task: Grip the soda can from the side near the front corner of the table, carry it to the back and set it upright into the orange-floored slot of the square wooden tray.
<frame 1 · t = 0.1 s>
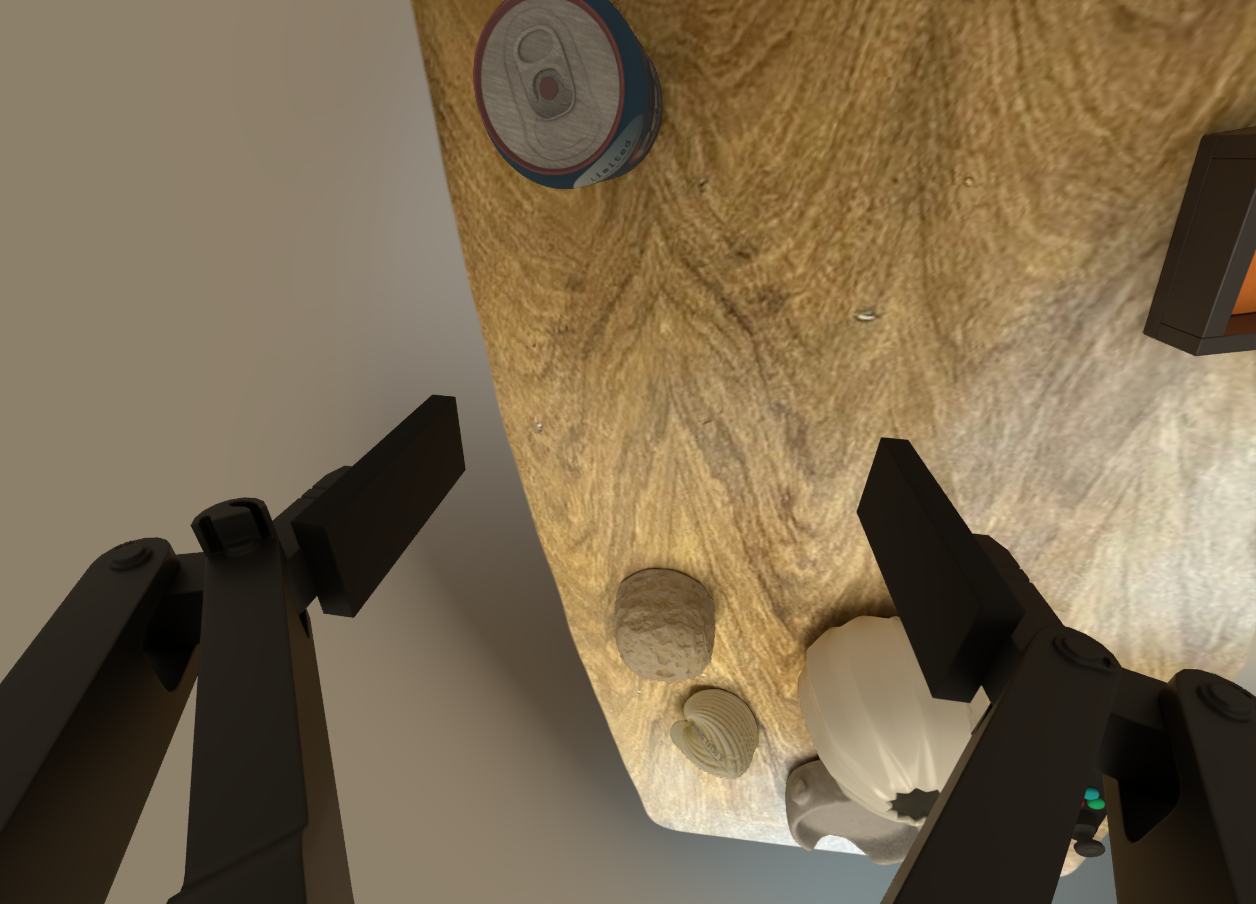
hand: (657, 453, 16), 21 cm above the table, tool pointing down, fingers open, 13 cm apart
seashell: (712, 710, 55), on the table
vase: (870, 648, 48), on the table
dish: (846, 782, 59), on the table
controller: (1032, 708, 49), on the table
soda can: (603, 109, 30), on the table
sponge: (665, 603, 48), on the table
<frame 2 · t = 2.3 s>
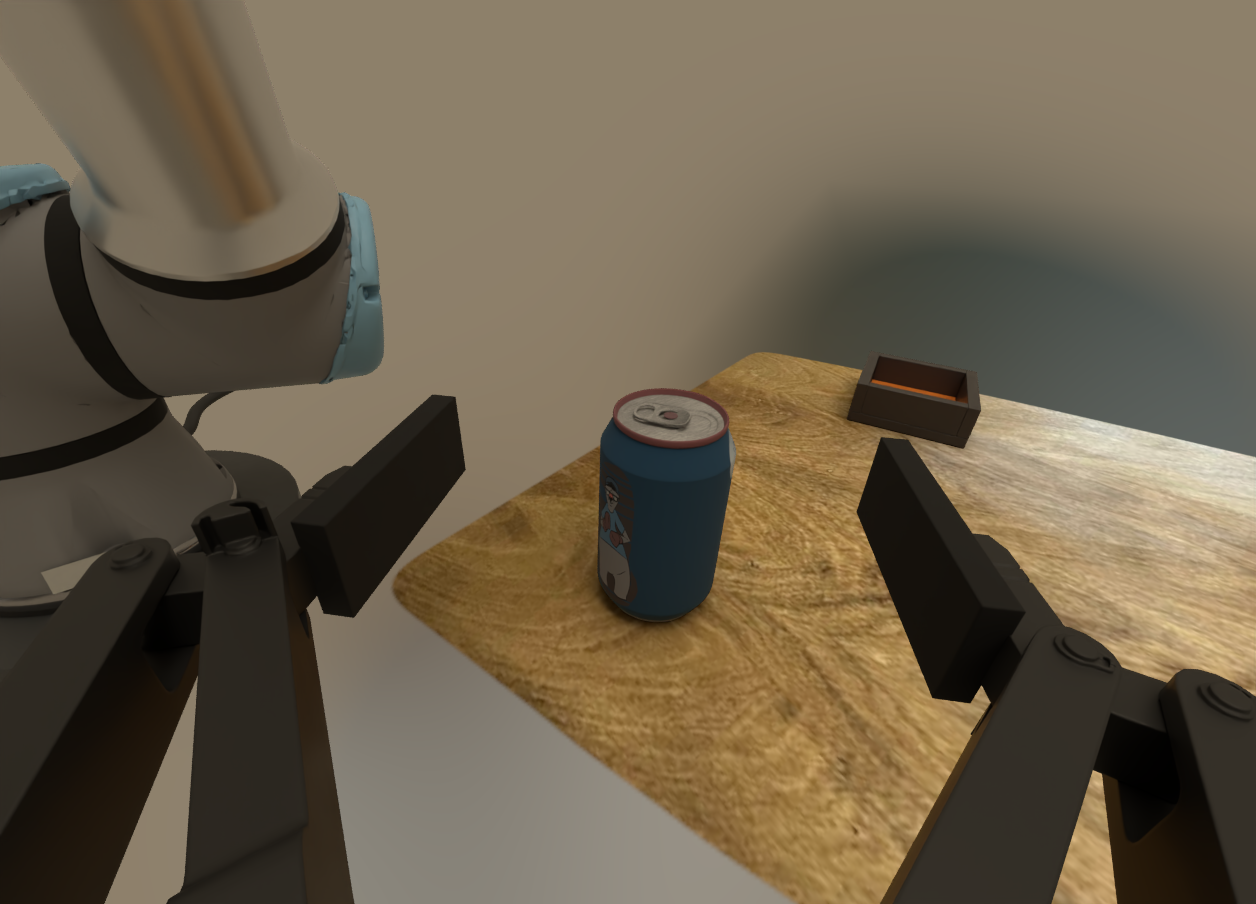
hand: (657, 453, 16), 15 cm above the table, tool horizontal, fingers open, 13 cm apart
soda can: (653, 588, 32), on the table
square wooden tray: (906, 412, 54), on the table
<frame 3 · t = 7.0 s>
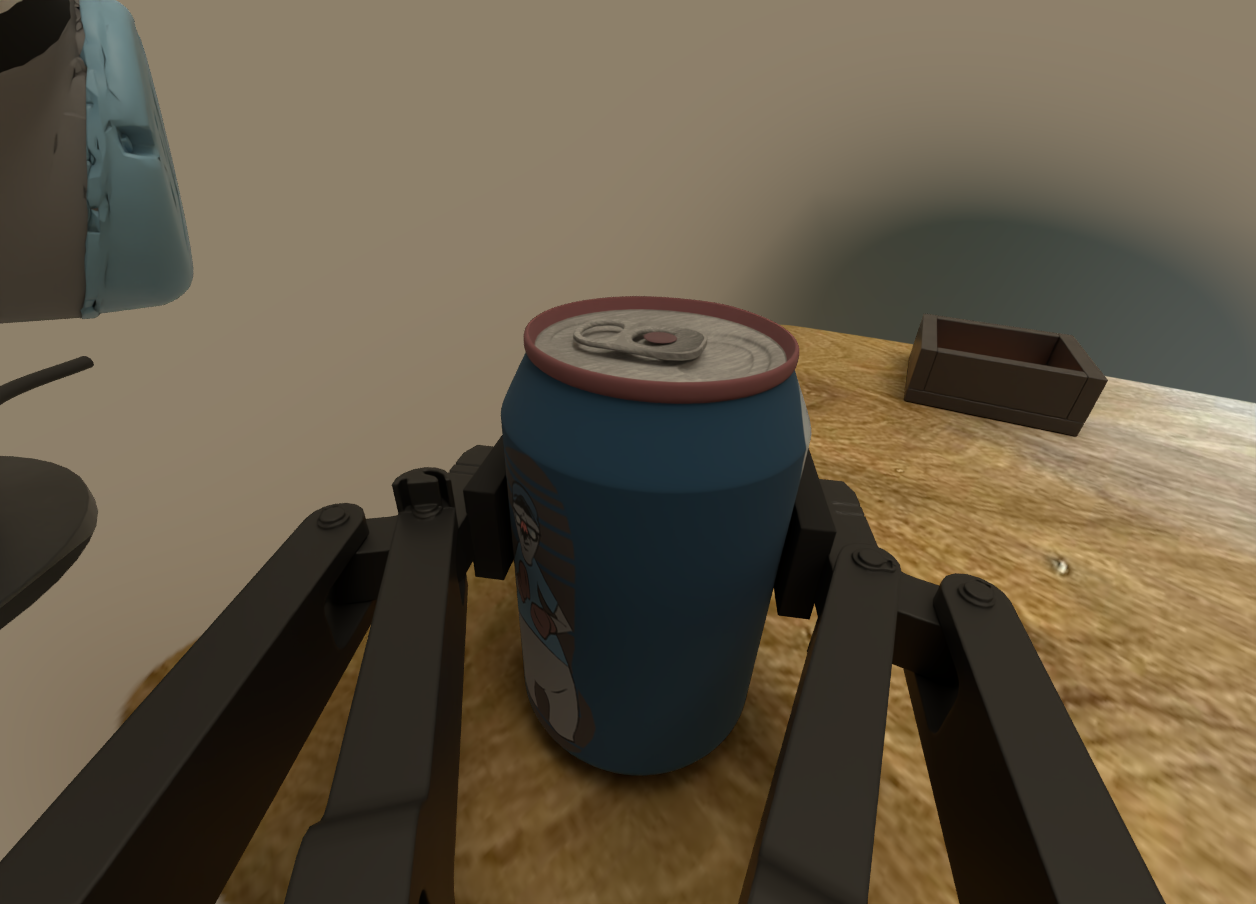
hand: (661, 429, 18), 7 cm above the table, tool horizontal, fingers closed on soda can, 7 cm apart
soda can: (634, 690, 17), on the table, touching gripper
square wooden tray: (980, 391, 40), on the table
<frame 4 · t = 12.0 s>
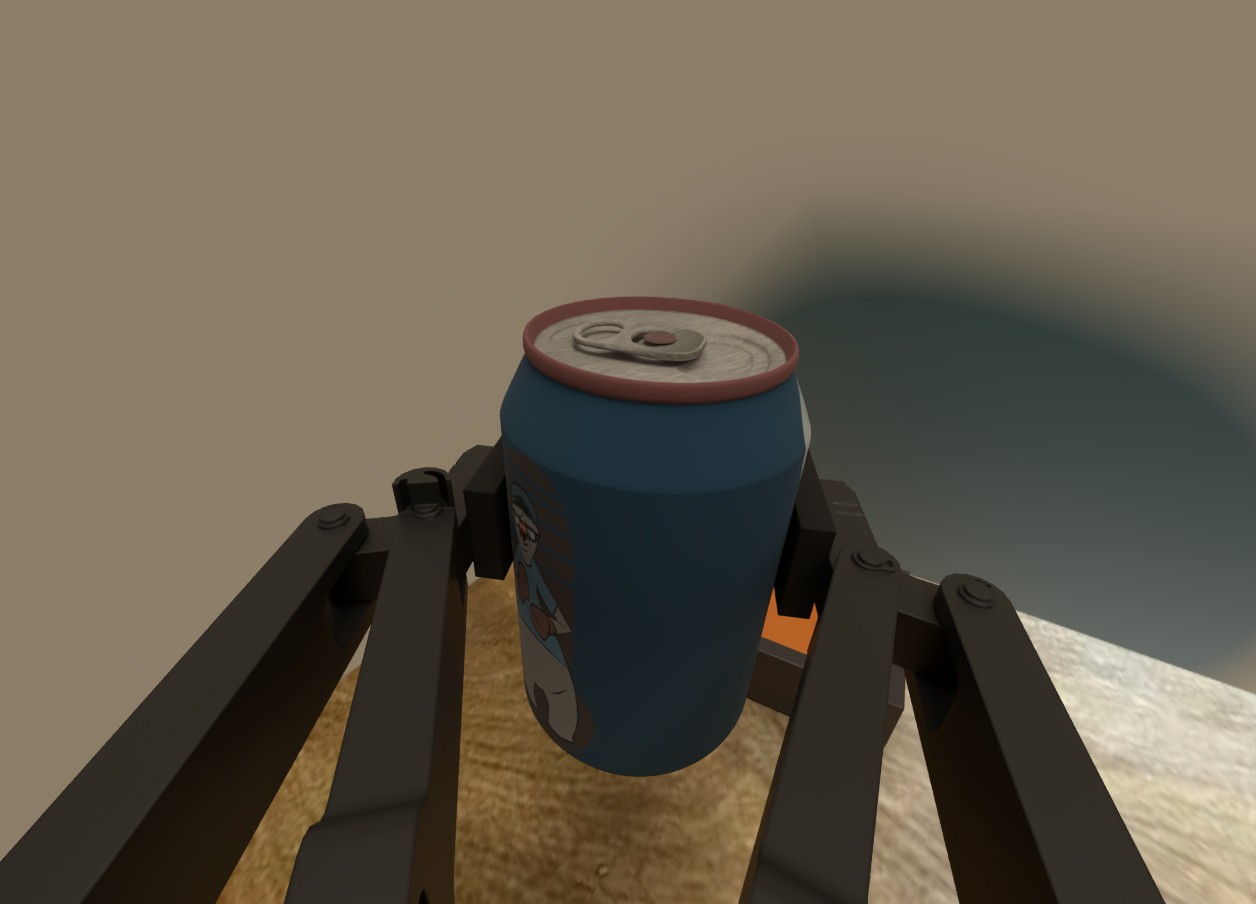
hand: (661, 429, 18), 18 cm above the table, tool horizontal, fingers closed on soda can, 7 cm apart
soda can: (633, 690, 17), point 11 cm above the table, touching gripper
square wooden tray: (796, 642, 33), on the table
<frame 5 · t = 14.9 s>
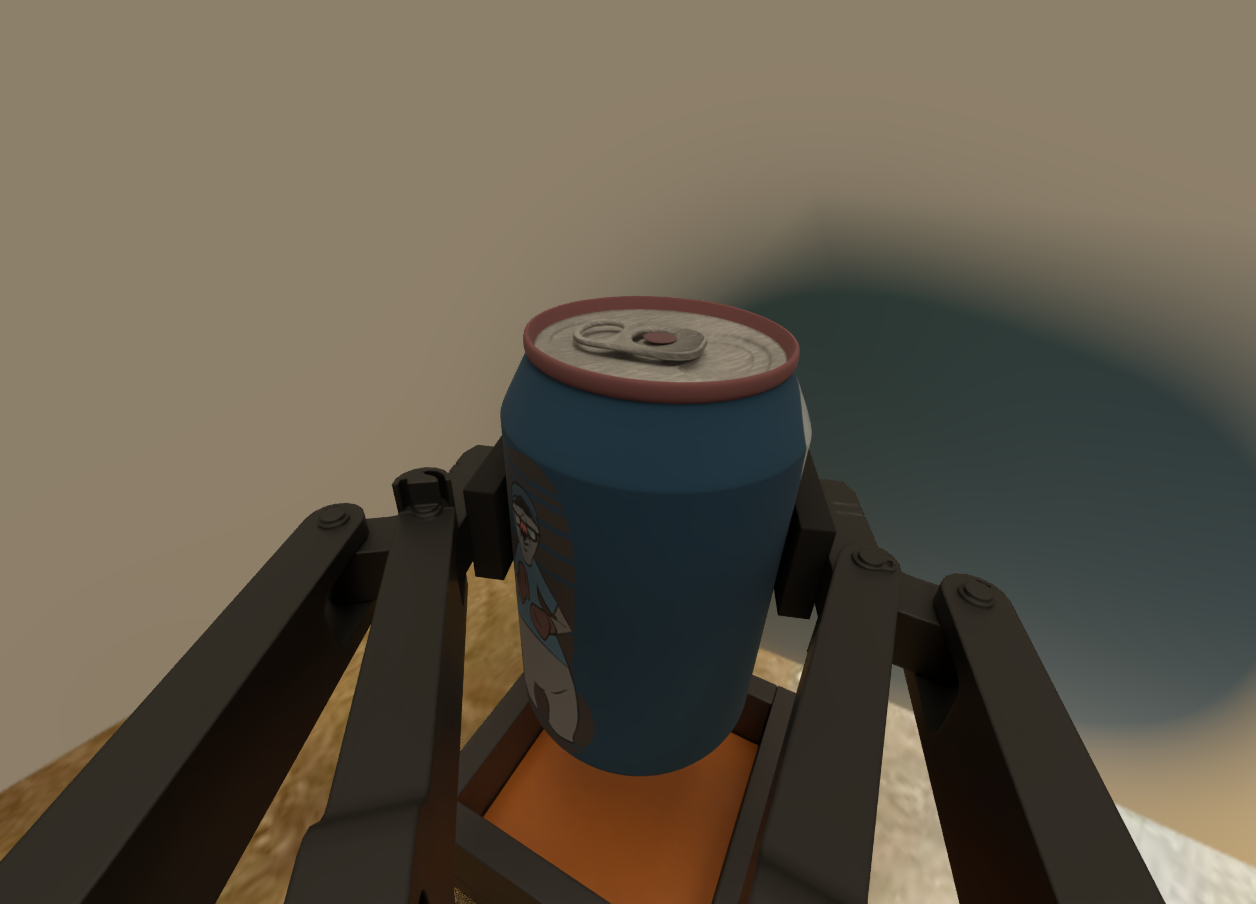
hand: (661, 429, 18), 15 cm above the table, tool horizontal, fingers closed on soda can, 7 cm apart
soda can: (633, 690, 17), point 7 cm above the table, touching gripper
square wooden tray: (624, 803, 21), on the table
when the fingers open (8 cm above the table, at t = 17.1 s): soda can stays where it is, resting on square wooden tray.
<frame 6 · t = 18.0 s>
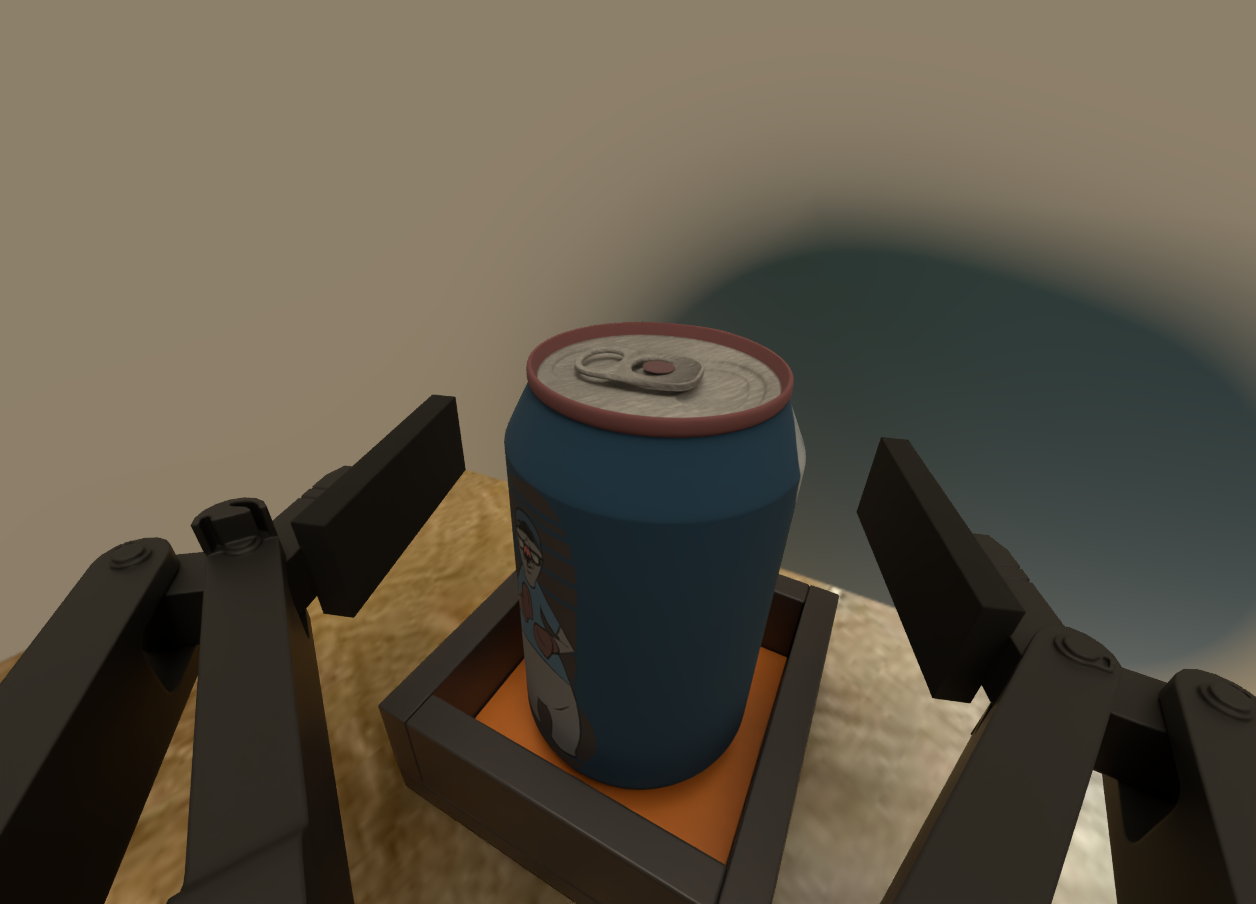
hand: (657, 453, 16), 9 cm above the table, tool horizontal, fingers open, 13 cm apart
soda can: (634, 703, 18), point 1 cm above the table, touching square wooden tray
square wooden tray: (632, 720, 18), on the table
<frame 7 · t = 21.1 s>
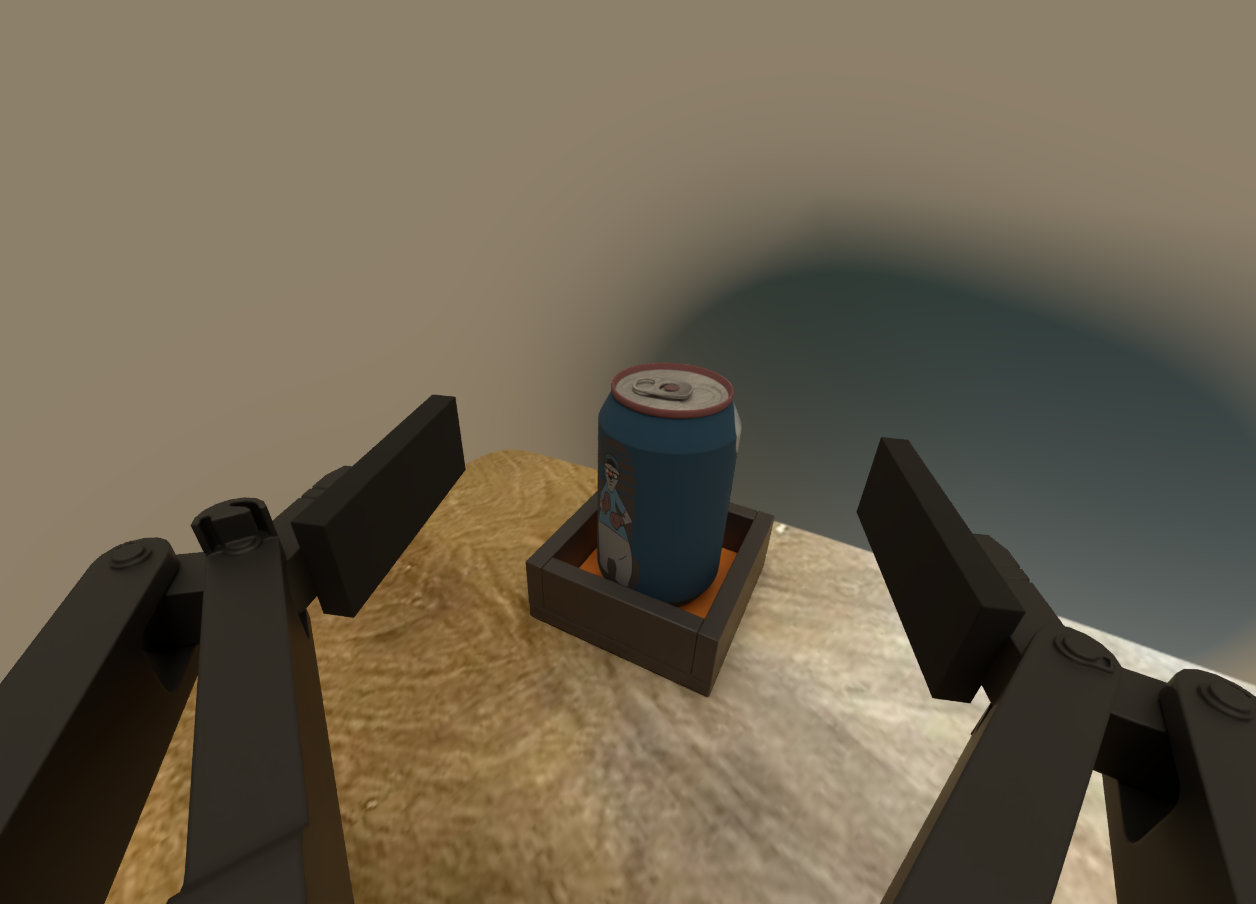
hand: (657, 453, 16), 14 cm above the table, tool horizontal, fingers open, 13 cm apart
soda can: (656, 576, 31), point 1 cm above the table, touching square wooden tray
square wooden tray: (654, 589, 31), on the table
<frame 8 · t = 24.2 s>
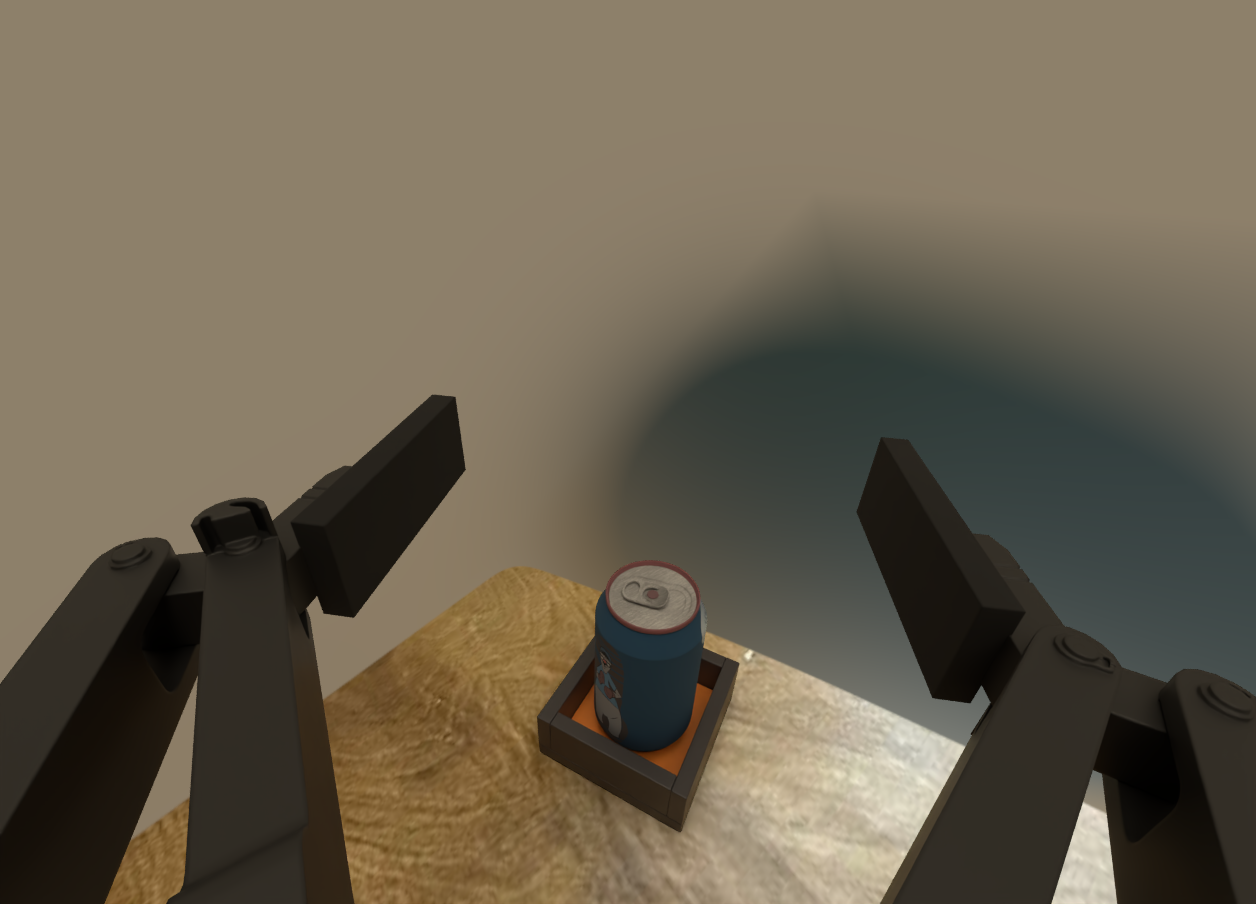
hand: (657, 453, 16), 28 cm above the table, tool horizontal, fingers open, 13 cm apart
soda can: (642, 714, 38), point 1 cm above the table, touching square wooden tray
square wooden tray: (641, 722, 38), on the table
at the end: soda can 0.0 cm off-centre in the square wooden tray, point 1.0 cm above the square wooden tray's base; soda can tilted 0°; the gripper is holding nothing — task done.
